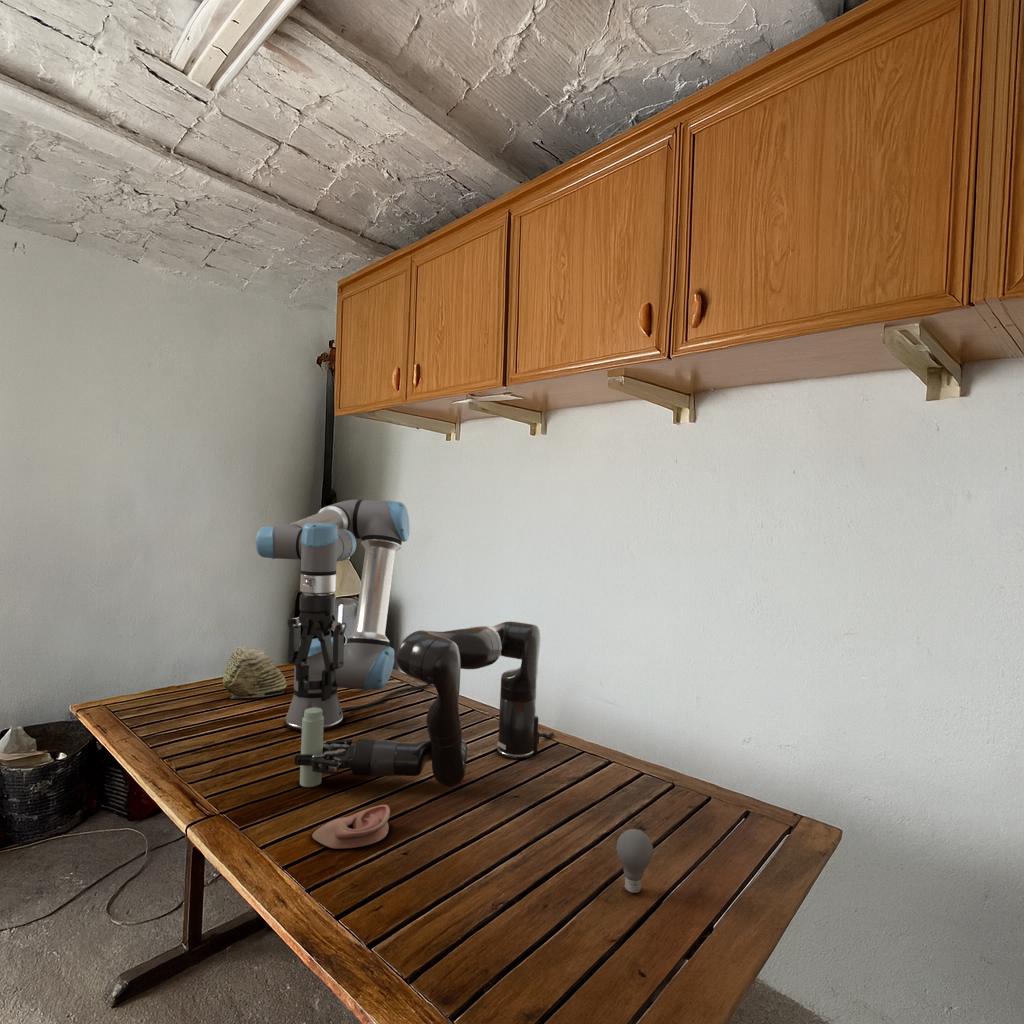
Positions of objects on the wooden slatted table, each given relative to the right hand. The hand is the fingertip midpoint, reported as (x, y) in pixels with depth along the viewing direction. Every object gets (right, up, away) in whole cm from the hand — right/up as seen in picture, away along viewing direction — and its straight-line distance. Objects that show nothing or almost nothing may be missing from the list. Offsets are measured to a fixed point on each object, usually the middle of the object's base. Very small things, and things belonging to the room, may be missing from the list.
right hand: (299, 754), depth 140 cm
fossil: (-34, -4, +58) cm, 67 cm away
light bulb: (+67, -10, -34) cm, 76 cm away
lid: (+3, +17, 0) cm, 17 cm away
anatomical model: (+17, -7, -20) cm, 27 cm away
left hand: (+3, +13, 0) cm, 13 cm away
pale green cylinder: (+2, -6, 0) cm, 7 cm away
